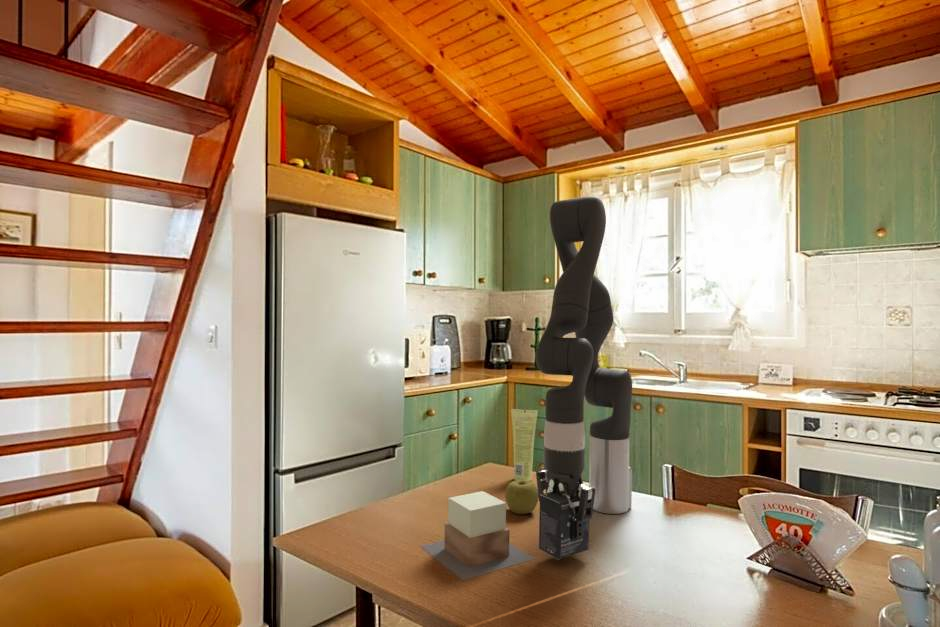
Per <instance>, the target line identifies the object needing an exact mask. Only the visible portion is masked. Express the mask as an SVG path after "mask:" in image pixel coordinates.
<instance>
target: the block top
mask: <svg viewBox="0 0 940 627" xmlns="http://www.w3.org/2000/svg"><path fill="white" fill-rule="evenodd" d="M447 500H448V502H447V503H448V507H447V508H448V511H447V512H448V513H447V517H448V519H447V523H448V524H450V525H451V526H453V527H454V528H456V529H457V530H459V531H460V532H462V533H463V534H465V535H466V536H468V537H469V538H473V537H477V536H481V535H485V534H489V533H493V532H497V531H501V530H505V529H506V528H507V502H505V501H503V500H501V499H499V498H497V497H496V496H493V495H491V494H490V493H487V492H485V491H483V490H481V491H475V492H472V493H466V494H461V495H456V496H452V497H448V499H447Z"/></svg>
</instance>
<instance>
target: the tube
mask: <svg viewBox="0 0 940 627" xmlns="http://www.w3.org/2000/svg"><path fill="white" fill-rule="evenodd" d="M538 414H539V411H538V409H537V410H536V409H518V408H517V409H515V408H511V409H510V416H511V424H512V440H513V443H512V444H513V479H514V481H516V480H527V481H530V482H531V481H532V475H533V462H534V461H533V459H534V448H535V445H534V444H535V437H536V436H535V435H536V434H535V433H536V427H537V419H538Z"/></svg>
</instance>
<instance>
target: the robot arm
mask: <svg viewBox="0 0 940 627" xmlns="http://www.w3.org/2000/svg"><path fill="white" fill-rule="evenodd" d="M549 222H550V230H551V233H552V237H553V241H554V244H555V248H556V251H557V255H558V258H559V261H560V265H561V269H562V274H561V275H560V277H559V278H558V280H557V282H556V284H555V288H554V291H553V297H552V303H551V304H552V305H551V311H550V317H549V319H548V322H547V325H546V327H545V329H544V331H543V334H542V336H541V337H540V339H539V341H538V342H539V343H538V345H537V348H536V351H535V364H536V366H537V368H538V370H539V371H540V372H541V373H543V374H545V375H552V376H556V375H557V376H572V380H571V381H570V383H569V384H567V385H564V386H556V387H552V388H550V389H548V390H547V391H546V394H545V420H544V421H545V424H544V430H543V431H544V432H543V467H544V469H543V470H539V471H538V470H537V471H535V475H536V476H535V477H536V487H537V489H538V502H539V503H540V494H543V493H544V490H545V493H556V494H558V495H561V496H563V499H565V500H567V501H568V508H570V518H571V520H570V539H571V540H572V541H578V540H580V539H581V538H582V536H583V520H587V519H589V520H591V519H592V517H593V511H596V512H597V513H602V514H608V515H609V514H610V515H620V514H624V513H627V512H628V511H629V509H631V508H632V504H633V503H632V494H633V492H632V489H633V488H632V487H633V486H632V485H633V483H632V482H633V480H632V479H633V478H632V477H633V476H632V475H633V474H632V473H633V471H632V467H630V432H631V431H630V429H631V416H632V415H631V414H632V400H633V380H632V375H631V374H630V372H629V371H628V370H626V369H618V368H617V369H615V368H614V369H613V368H602V367H600V364H599V353H600V350H601V347H602V345H603V343H605V340H606V339H607V337H608V335H609V333H610V330H611V329H612V327H613V325H614V324H613V323H614V313H613V306H612V301H611V296H610V295H611V294H610V292H609V290H608V288H607V286H606V285H605V284H604V283H603V282H602V281H601V279H599V277H598V276H596V274H595V272H596V267H597V264H598V260H599V257H600V255H601V254H600V253H601V249H602V245H603V242H604V241H603V240H604V237H605V234H606V232H605V231H606V226H607V225H606V224H607V215H606V208H605V205H604V203H603V201H602V199H601V198H600V197H599V196H597V195H589V196H579V197H574V198H573V197H572V198H567V199H566V198H565V199H562V200H555V201H554V202H553V203H552V204H551V206H550V210H549ZM581 242H582V244H581V246H580V249H579V250H578V249H577V246H576V244H575V243H581ZM572 333H574V335H575V337H564V336H566V335H569V334H572ZM584 399H585V400H586V402H587V404H589V405H590V406H594V407H602V408H610V409H611V408H612V413H611V415H610V416H608V417H606V418H603V419H598V420H595V421H592V422H591V423H590V426H589V469H588V470H589V471H588V472H589V478H588V480H589V482H588V483H589V484H588V485H589V487H588V486H587V485H585V484H584V481H583V478H582V474H583V472H584V471H585V468H586V465H585V464H586V457H585V456H586V432H585V425H584V422H585V421H584V406H585V405H584V404H585V402H584V401H585V400H584ZM576 497H579V501H578V502H574V503H572V502H571V501H570V499H573V498H576ZM575 506H577V507H578V513H575V509H574V507H575ZM585 510H586V512H585Z"/></svg>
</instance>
